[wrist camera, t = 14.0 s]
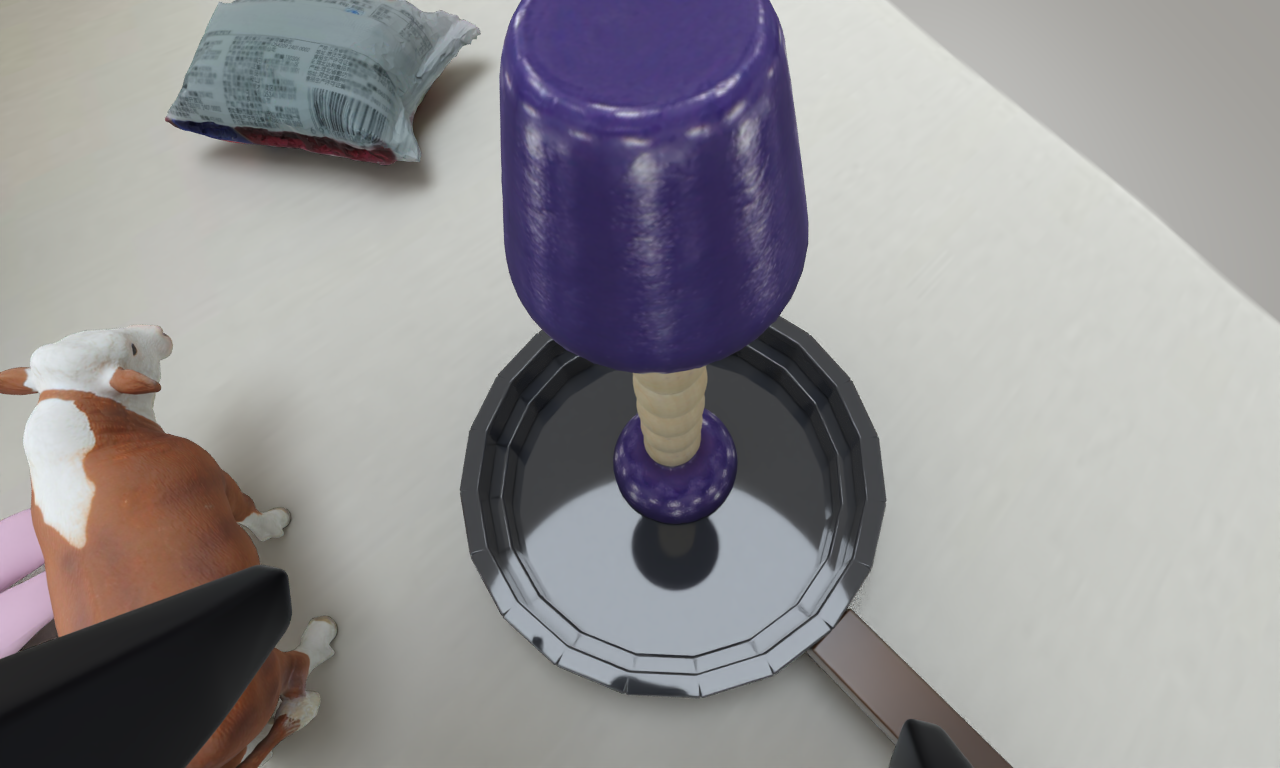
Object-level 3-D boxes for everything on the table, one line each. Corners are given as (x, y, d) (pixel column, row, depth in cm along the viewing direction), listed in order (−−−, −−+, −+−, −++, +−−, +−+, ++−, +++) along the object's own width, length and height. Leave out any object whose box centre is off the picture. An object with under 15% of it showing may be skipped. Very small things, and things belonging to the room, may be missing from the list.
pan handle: (804, 651, 18) (811, 649, 17) (841, 610, 18) (850, 607, 17) (1059, 915, 15) (1082, 931, 14) (1097, 862, 16) (1122, 873, 15)
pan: (881, 704, 19) (912, 708, 16) (460, 683, 20) (427, 685, 17) (842, 327, 24) (861, 286, 22) (511, 325, 25) (492, 286, 23)
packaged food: (282, 36, 33) (218, -62, 29) (492, 62, 31) (460, -38, 27) (198, 163, 30) (112, 74, 25) (427, 200, 28) (378, 112, 24)
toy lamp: (754, 529, 21) (946, 131, 6) (613, 554, 21) (420, 223, 6) (722, 396, 23) (798, -160, 8) (593, 419, 23) (412, -95, 8)
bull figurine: (285, 387, 25) (113, 263, 17) (379, 746, 19) (188, 791, 12) (172, 436, 24) (-56, 329, 17) (237, 820, 19) (-58, 916, 11)
